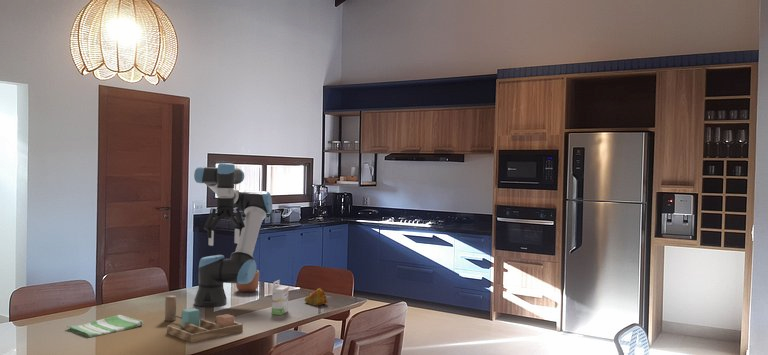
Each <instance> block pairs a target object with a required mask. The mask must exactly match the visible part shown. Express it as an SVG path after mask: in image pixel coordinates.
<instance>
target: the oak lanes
mask: <svg viewBox="0 0 768 355" xmlns="http://www.w3.org/2000/svg"><path fill="white" fill-rule="evenodd" d="M217 316H218V315H216V316H215V320H214V321H215V322H211V321H210V320H209V321H208V320H206V319H203V318H201V319H200V318H199V326H196V325H193V324H190V323H187V322H184V327H183V329H180V328H178V327H176V326H172V325H167V326H166V334H168V335H171V336H173V337H176V338H178V339H181V340H183V341H186V342H188V343H197V342H201V341H205V340H211V339H216V338H219V337H223V336H224V337H225V336H228V335H229V336H230V335H233V334H238V333H239V334H240V333H242V332H243V331H244V330H243V329H244V325H243V324H242V323H240V322H236V321H234V325H233V326H228V327H224V326H221V325H218V324H217Z"/></svg>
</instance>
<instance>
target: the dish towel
mask: <svg viewBox="0 0 768 355" xmlns="http://www.w3.org/2000/svg"><path fill="white" fill-rule="evenodd" d="M143 323H144V321H143V320H141V319H137V318H132V317H128V316H125V315H123V314H117V315H114V316H113V315H112V316H109V317H105V318H101V319H98V320H94V321H90V322H88V323H85V324H80V325H78V324H77V325H71V324H70V325H67V326H66V327H67V328H68V329H67V330H68V331H69V332H73V333H76V334H79V335H83V336H84V337H86V338H87V339H88V338H94V337H99V336H104V335H109V334H113V333H117V332H123V331H126V330H132V329H135V328H137V327H138V328H139V327H140V326H142V325H143Z"/></svg>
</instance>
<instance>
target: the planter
mask: <svg viewBox="0 0 768 355" xmlns="http://www.w3.org/2000/svg"><path fill="white" fill-rule="evenodd" d="M259 281H260V270H258V269H256V273H255V276H254V278H253V280H252V281H251V282H250V283H247V284H238V283H235V288H236V289H237V291H239V292H241V293H253V292H255V291H256V290H258V288H259V285H260V284H259V283H260V282H259Z"/></svg>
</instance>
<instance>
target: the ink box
mask: <svg viewBox="0 0 768 355" xmlns="http://www.w3.org/2000/svg"><path fill="white" fill-rule="evenodd" d="M280 281H281V280H280V279H278V280H275V281H273V283H272V291H271V292H272V296H271V297H272V298H271V315H276V316H282V315H284V314H286V313H287V312H288V311H289V310H288V309H289V289H290V286H287V285H286V286H285V285H280Z"/></svg>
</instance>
